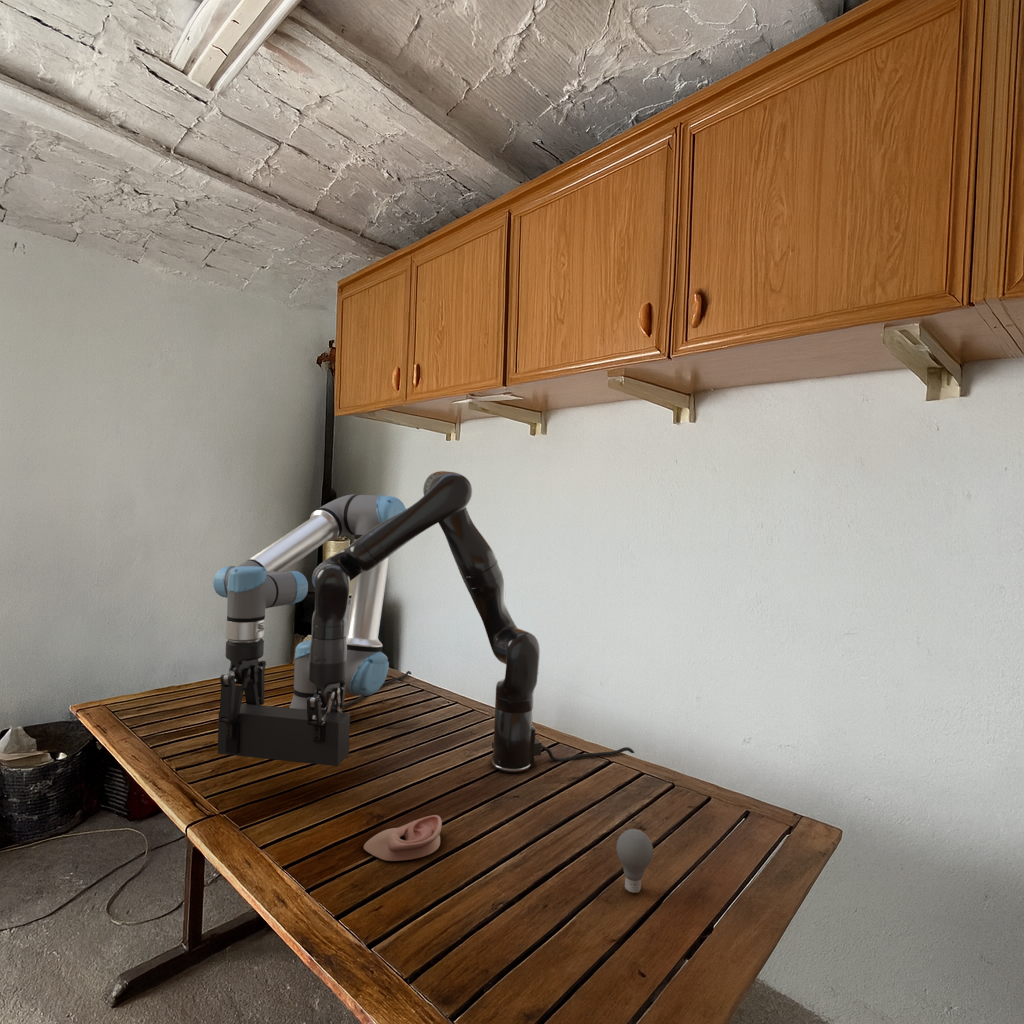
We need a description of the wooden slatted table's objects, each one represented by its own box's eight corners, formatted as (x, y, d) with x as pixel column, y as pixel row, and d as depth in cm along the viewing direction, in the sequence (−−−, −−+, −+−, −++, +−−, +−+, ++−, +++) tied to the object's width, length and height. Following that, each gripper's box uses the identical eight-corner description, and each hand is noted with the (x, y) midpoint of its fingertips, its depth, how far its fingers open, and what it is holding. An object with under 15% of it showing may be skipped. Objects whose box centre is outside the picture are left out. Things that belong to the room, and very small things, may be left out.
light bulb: (610, 879, 108) (613, 822, 108) (644, 879, 109) (647, 822, 109) (619, 902, 102) (622, 840, 102) (655, 901, 103) (658, 840, 103)
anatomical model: (356, 833, 112) (382, 804, 123) (355, 856, 112) (381, 824, 123) (428, 845, 109) (448, 813, 121) (427, 868, 109) (447, 834, 121)
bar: (217, 753, 134) (218, 711, 133) (233, 743, 139) (234, 702, 139) (337, 766, 130) (338, 722, 129) (348, 755, 135) (350, 713, 135)
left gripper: (235, 650, 126) (231, 766, 126) (283, 631, 144) (280, 732, 145) (201, 647, 127) (197, 762, 127) (253, 629, 145) (249, 729, 146)
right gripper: (330, 668, 125) (327, 752, 125) (358, 651, 139) (356, 727, 140) (294, 665, 126) (292, 748, 126) (326, 648, 140) (324, 724, 141)
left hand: (241, 746), depth 136 cm, fingers closed on bar, 6 cm apart
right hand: (325, 737), depth 133 cm, fingers closed on bar, 6 cm apart
